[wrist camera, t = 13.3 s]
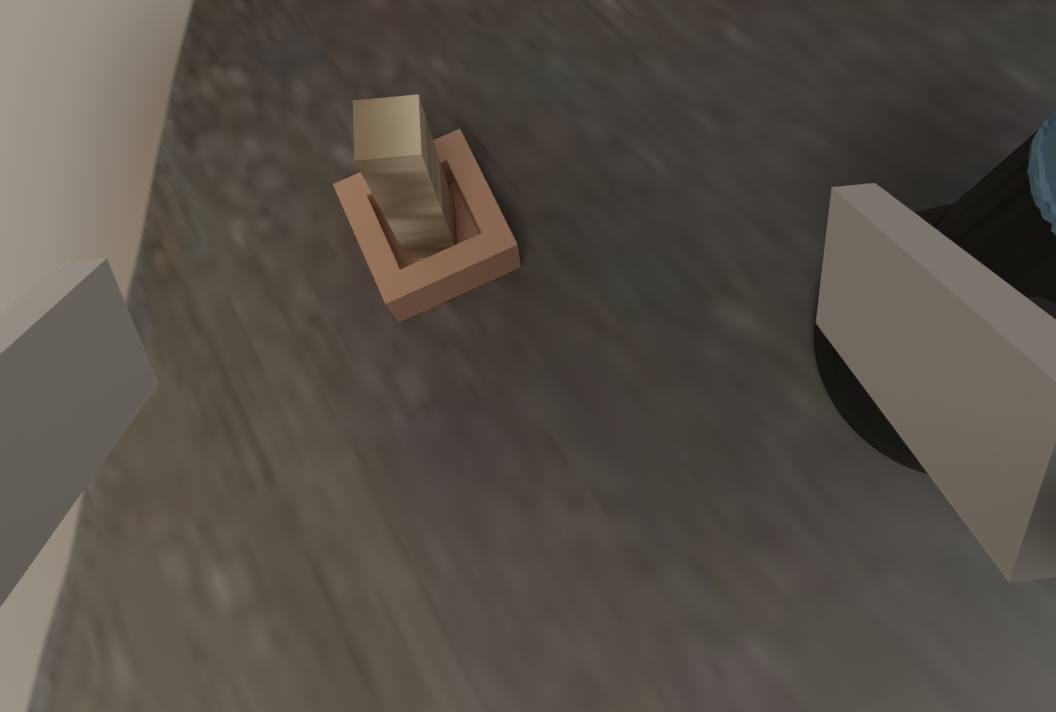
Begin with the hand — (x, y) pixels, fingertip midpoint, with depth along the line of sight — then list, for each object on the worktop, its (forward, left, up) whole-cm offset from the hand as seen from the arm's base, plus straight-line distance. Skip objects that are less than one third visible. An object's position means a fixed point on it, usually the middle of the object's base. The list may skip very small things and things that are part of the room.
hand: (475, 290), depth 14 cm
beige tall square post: (0, -15, -29) cm, 32 cm away
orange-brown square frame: (0, -15, -30) cm, 33 cm away
